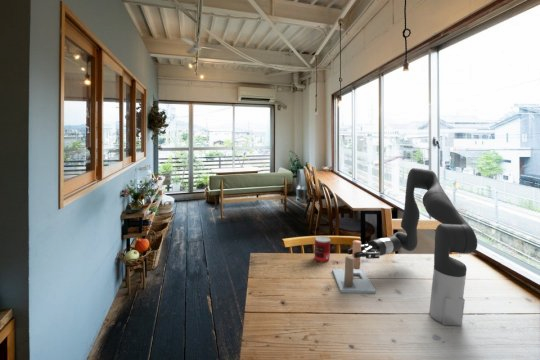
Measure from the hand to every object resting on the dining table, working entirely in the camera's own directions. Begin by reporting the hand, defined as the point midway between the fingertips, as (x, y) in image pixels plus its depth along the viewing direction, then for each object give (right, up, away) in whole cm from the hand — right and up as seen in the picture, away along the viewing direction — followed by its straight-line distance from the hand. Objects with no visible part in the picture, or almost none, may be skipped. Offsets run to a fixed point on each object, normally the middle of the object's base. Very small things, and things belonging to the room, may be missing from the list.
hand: (351, 253), depth 120 cm
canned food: (-9, -9, +22) cm, 25 cm away
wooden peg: (+3, -7, +2) cm, 8 cm away
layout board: (0, -12, 0) cm, 12 cm away
